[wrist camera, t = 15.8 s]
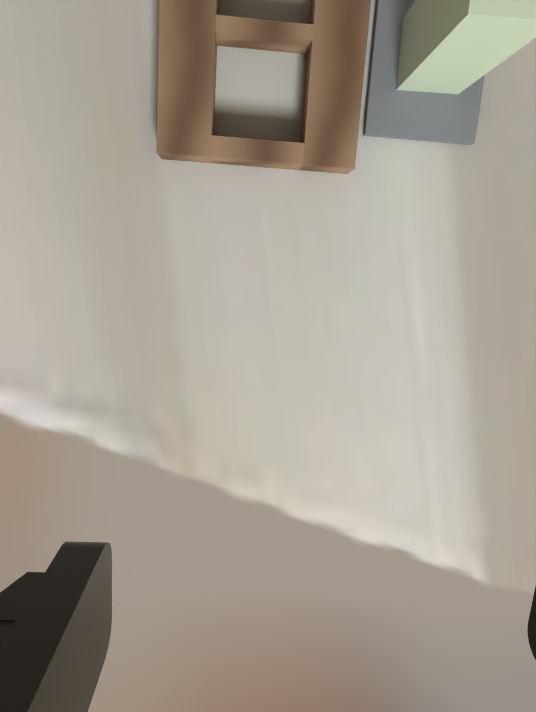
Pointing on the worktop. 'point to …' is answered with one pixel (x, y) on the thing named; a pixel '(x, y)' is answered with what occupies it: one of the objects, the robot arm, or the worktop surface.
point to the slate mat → (412, 92)
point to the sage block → (460, 41)
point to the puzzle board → (318, 39)
